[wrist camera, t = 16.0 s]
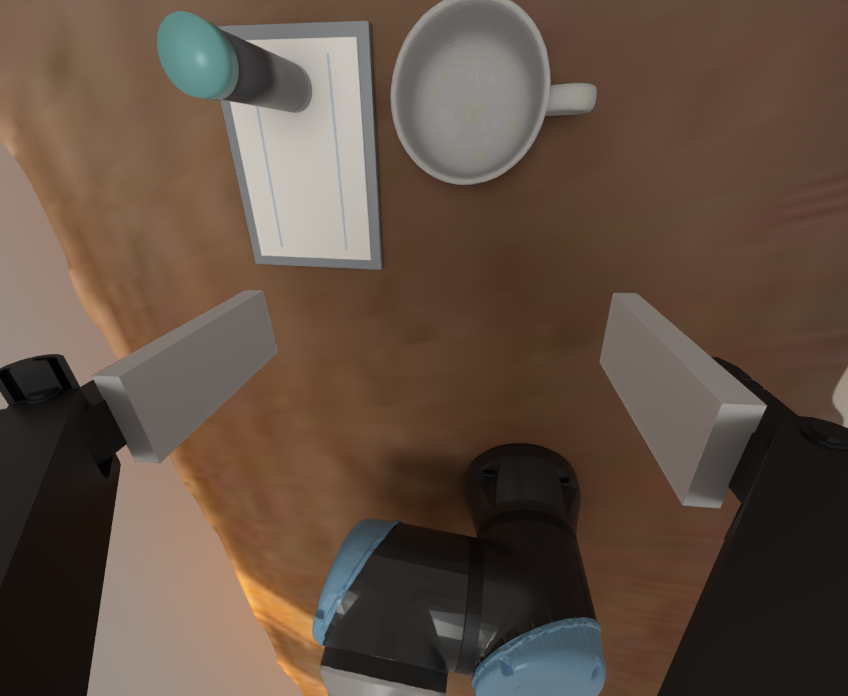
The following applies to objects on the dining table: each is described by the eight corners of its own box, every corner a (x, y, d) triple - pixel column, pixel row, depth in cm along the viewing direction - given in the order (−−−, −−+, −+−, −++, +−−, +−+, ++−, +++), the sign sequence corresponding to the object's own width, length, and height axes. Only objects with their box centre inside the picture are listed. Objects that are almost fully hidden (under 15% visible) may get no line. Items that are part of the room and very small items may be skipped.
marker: (316, 113, 33) (231, 96, 21) (275, 114, 33) (170, 97, 22) (309, 59, 31) (213, 9, 19) (266, 60, 31) (146, 12, 20)
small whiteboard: (383, 267, 40) (380, 270, 39) (259, 261, 41) (254, 264, 40) (371, 23, 30) (367, 20, 29) (210, 29, 32) (202, 25, 31)
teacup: (400, 163, 35) (379, 168, 28) (422, 12, 29) (402, -30, 22) (548, 196, 34) (564, 209, 27) (597, 48, 29) (633, 18, 22)
